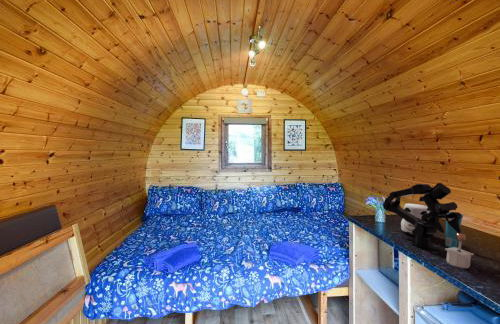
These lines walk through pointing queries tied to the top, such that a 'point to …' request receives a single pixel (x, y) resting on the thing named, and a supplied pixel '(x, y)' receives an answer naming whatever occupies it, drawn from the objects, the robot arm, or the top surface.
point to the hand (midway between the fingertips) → (451, 232)
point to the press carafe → (458, 257)
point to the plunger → (460, 240)
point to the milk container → (417, 212)
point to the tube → (451, 235)
